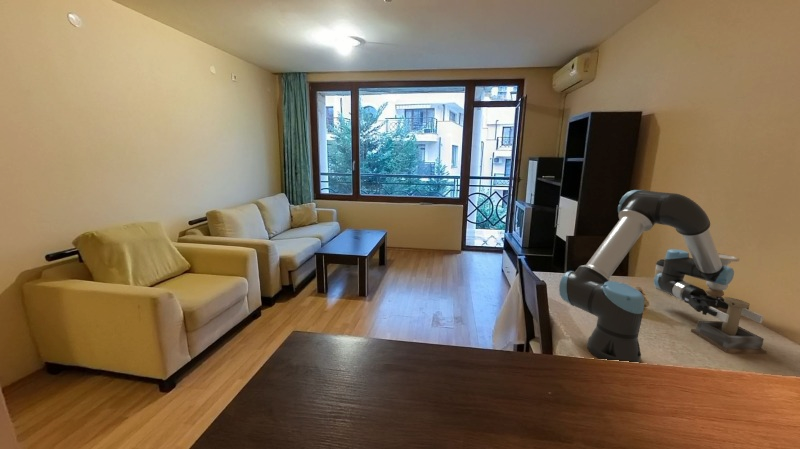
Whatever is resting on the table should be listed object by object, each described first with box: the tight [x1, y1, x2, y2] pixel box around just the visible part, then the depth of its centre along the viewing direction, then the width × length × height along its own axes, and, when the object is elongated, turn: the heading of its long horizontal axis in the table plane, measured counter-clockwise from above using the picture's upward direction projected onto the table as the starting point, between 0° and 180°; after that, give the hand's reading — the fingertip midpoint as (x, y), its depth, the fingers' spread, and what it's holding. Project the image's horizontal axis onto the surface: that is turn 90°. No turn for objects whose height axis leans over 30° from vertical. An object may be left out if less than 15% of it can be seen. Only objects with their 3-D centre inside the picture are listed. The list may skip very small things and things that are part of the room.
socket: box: [690, 320, 767, 354], centre depth 120 cm, size 14×14×5 cm
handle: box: [721, 296, 751, 336], centre depth 119 cm, size 5×6×15 cm
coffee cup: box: [653, 258, 665, 291], centre depth 169 cm, size 9×9×15 cm
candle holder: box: [705, 253, 740, 313], centre depth 149 cm, size 11×11×24 cm
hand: (744, 319), depth 115 cm, fingers open, 11 cm apart
